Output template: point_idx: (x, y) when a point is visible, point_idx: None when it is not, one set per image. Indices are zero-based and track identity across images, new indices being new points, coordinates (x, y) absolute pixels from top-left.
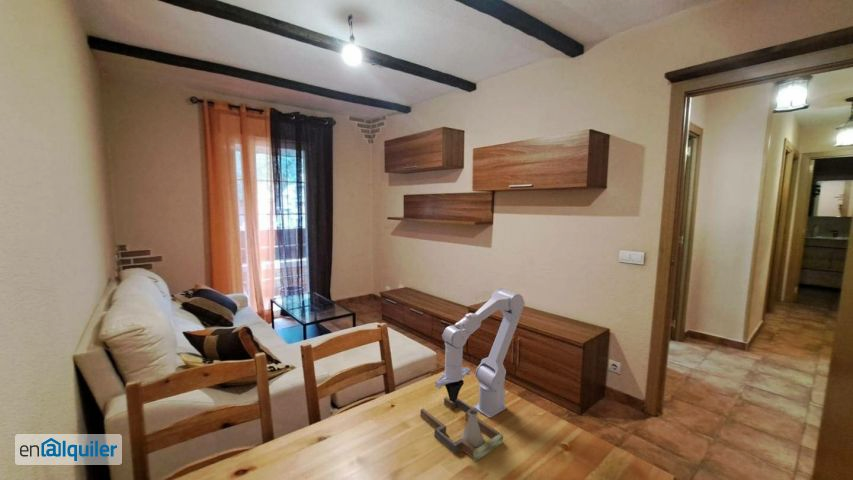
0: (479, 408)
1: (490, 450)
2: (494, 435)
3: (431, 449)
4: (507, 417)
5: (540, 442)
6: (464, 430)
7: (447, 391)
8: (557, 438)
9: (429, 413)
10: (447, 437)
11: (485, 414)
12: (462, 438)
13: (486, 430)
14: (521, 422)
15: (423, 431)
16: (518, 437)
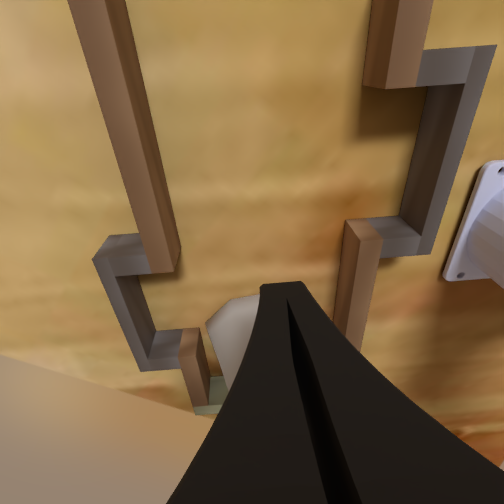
0: (485, 208)
1: None
2: None
3: (61, 289)
4: (498, 305)
5: (425, 410)
6: (232, 345)
7: (244, 355)
8: (475, 418)
9: (127, 96)
10: (134, 329)
11: (452, 256)
12: (212, 333)
13: None
14: (495, 345)
15: (60, 167)
16: (402, 379)
